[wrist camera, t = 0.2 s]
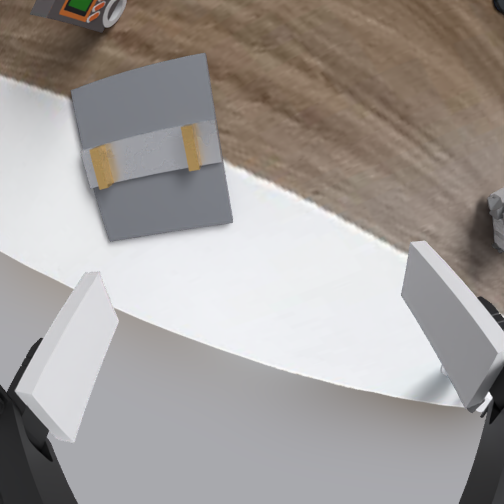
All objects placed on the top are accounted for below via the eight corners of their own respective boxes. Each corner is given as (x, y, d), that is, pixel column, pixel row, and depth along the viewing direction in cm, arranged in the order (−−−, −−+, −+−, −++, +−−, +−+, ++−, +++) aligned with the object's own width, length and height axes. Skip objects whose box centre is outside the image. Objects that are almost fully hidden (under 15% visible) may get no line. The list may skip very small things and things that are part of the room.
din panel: (75, 90, 32) (70, 90, 31) (205, 54, 31) (204, 52, 30) (112, 237, 42) (110, 241, 41) (232, 218, 42) (232, 222, 40)
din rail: (83, 149, 35) (73, 154, 32) (215, 119, 34) (213, 121, 32) (92, 186, 37) (83, 193, 35) (222, 160, 37) (220, 166, 34)
